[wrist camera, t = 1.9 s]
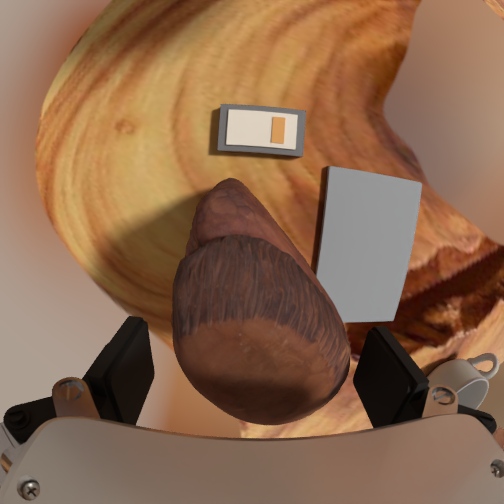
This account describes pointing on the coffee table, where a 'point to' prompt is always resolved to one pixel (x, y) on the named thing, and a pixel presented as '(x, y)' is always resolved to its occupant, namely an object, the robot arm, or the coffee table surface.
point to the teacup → (465, 378)
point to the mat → (366, 242)
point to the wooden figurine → (254, 315)
